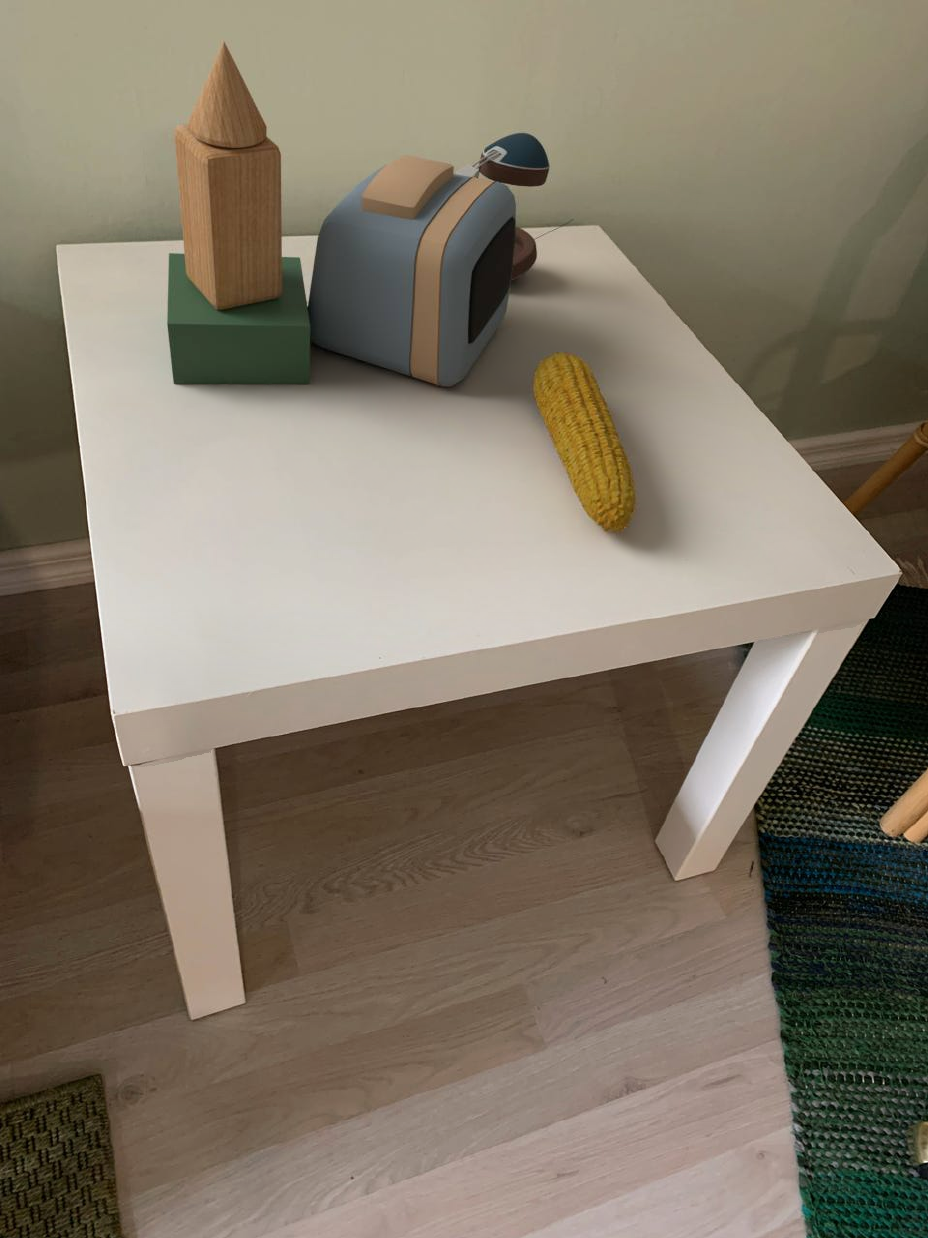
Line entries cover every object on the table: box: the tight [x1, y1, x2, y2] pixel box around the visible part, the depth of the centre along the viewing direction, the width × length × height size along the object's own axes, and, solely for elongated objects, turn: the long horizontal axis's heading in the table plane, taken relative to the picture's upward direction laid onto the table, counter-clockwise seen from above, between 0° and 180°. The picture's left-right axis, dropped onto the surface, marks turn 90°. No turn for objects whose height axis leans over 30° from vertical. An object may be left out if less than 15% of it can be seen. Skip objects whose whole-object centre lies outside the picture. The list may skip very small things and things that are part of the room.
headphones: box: [454, 132, 574, 281], centre depth 100 cm, size 6×15×22 cm
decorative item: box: [173, 41, 283, 310], centre depth 78 cm, size 7×7×20 cm
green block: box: [166, 252, 311, 385], centre depth 88 cm, size 12×12×6 cm
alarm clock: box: [307, 155, 517, 388], centre depth 89 cm, size 16×16×16 cm
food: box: [532, 351, 637, 533], centre depth 82 cm, size 21×6×6 cm, turn 13°
